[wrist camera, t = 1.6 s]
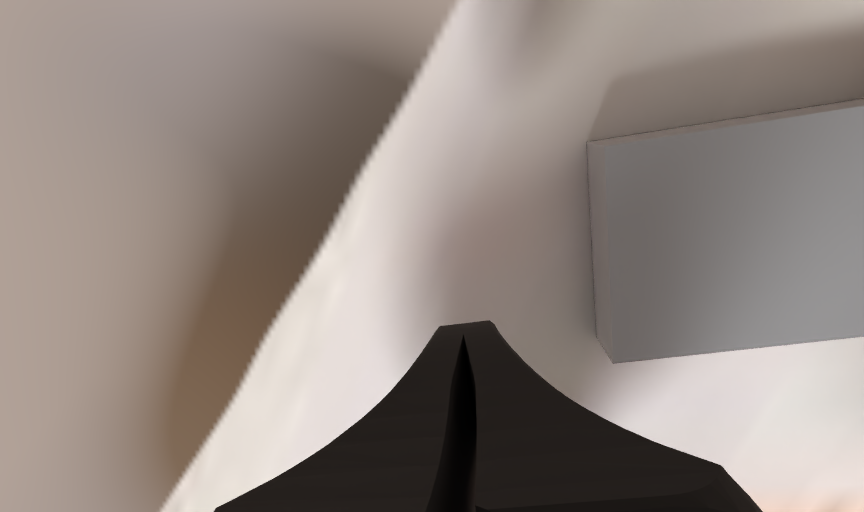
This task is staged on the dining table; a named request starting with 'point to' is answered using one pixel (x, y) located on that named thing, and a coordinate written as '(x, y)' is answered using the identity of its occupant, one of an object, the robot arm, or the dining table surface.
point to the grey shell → (729, 234)
